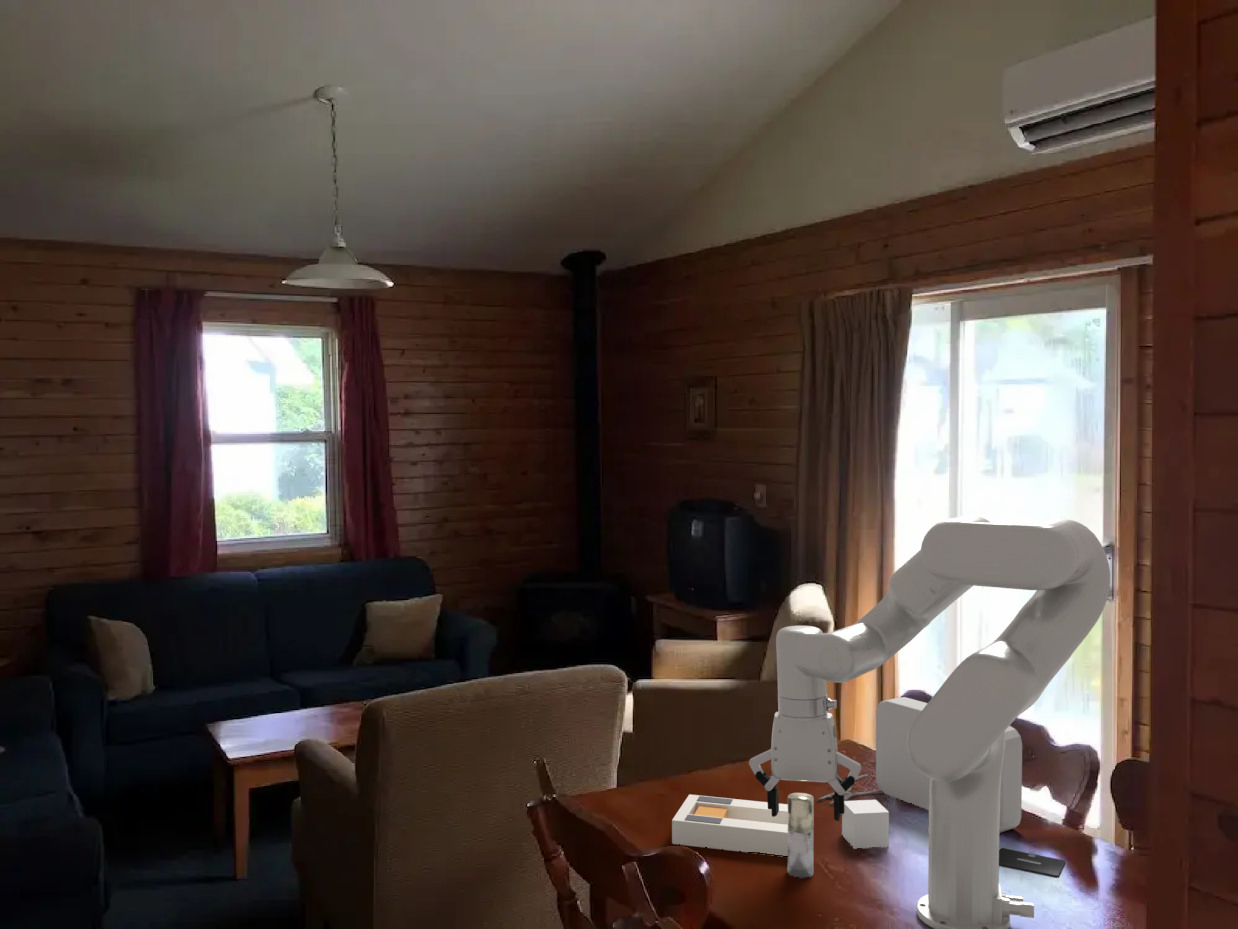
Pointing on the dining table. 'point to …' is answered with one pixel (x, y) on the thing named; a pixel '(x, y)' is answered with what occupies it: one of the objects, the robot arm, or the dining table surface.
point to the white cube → (865, 824)
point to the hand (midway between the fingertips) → (806, 816)
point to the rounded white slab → (913, 786)
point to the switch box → (732, 826)
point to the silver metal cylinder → (800, 834)
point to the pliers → (850, 793)
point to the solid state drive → (1030, 862)
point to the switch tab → (712, 812)
